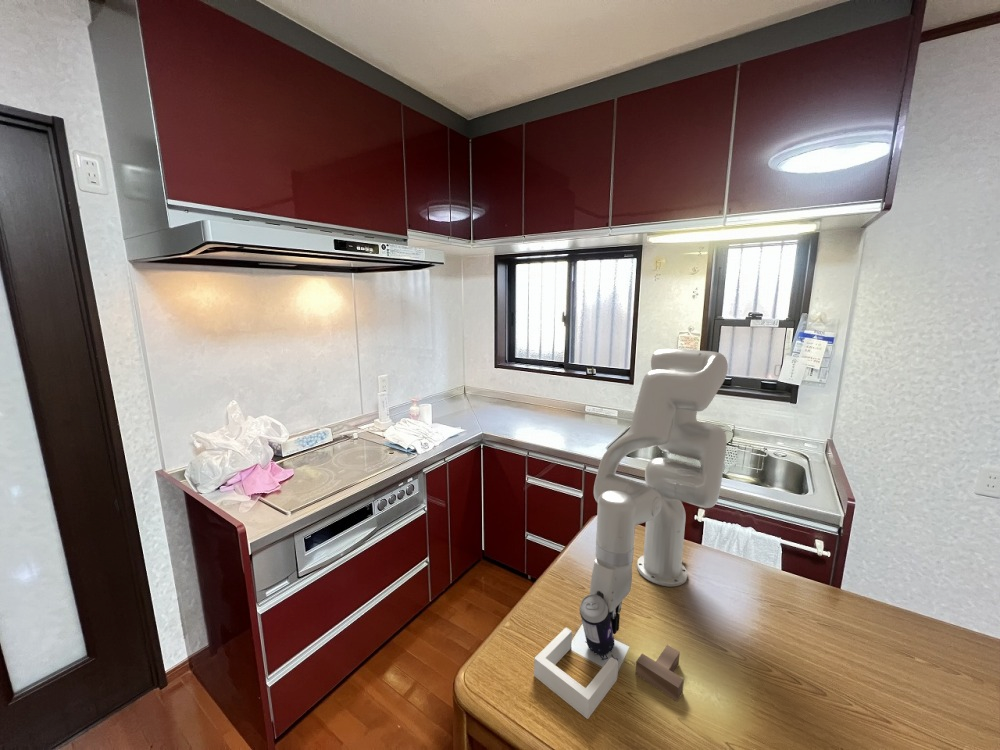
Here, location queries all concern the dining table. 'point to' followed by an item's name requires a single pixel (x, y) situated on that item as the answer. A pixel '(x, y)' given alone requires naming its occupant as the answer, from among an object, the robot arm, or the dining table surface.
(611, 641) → the beverage can
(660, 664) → the walnut T block
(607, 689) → the corral
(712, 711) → the dining table surface
